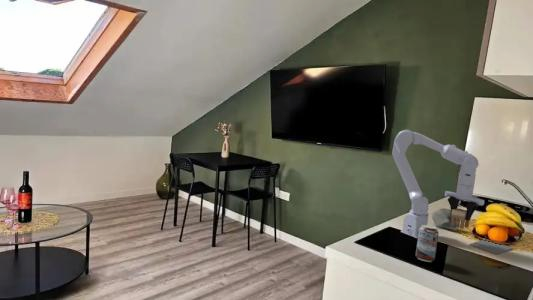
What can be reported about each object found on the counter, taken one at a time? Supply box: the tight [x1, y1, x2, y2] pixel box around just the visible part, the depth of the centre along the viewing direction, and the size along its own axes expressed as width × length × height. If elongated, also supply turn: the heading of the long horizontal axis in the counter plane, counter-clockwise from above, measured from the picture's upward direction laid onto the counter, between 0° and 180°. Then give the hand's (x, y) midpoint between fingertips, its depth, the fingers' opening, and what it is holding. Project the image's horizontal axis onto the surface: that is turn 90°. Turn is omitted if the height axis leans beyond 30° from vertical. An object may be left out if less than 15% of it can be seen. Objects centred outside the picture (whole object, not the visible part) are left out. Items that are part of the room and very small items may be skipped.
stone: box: [431, 208, 460, 232], centre depth 161 cm, size 10×10×10 cm
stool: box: [451, 207, 470, 230], centre depth 143 cm, size 5×5×6 cm
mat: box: [469, 239, 513, 256], centre depth 141 cm, size 13×10×1 cm
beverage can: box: [415, 224, 440, 263], centre depth 122 cm, size 6×7×12 cm
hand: (460, 218), depth 142 cm, fingers closed on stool, 5 cm apart
